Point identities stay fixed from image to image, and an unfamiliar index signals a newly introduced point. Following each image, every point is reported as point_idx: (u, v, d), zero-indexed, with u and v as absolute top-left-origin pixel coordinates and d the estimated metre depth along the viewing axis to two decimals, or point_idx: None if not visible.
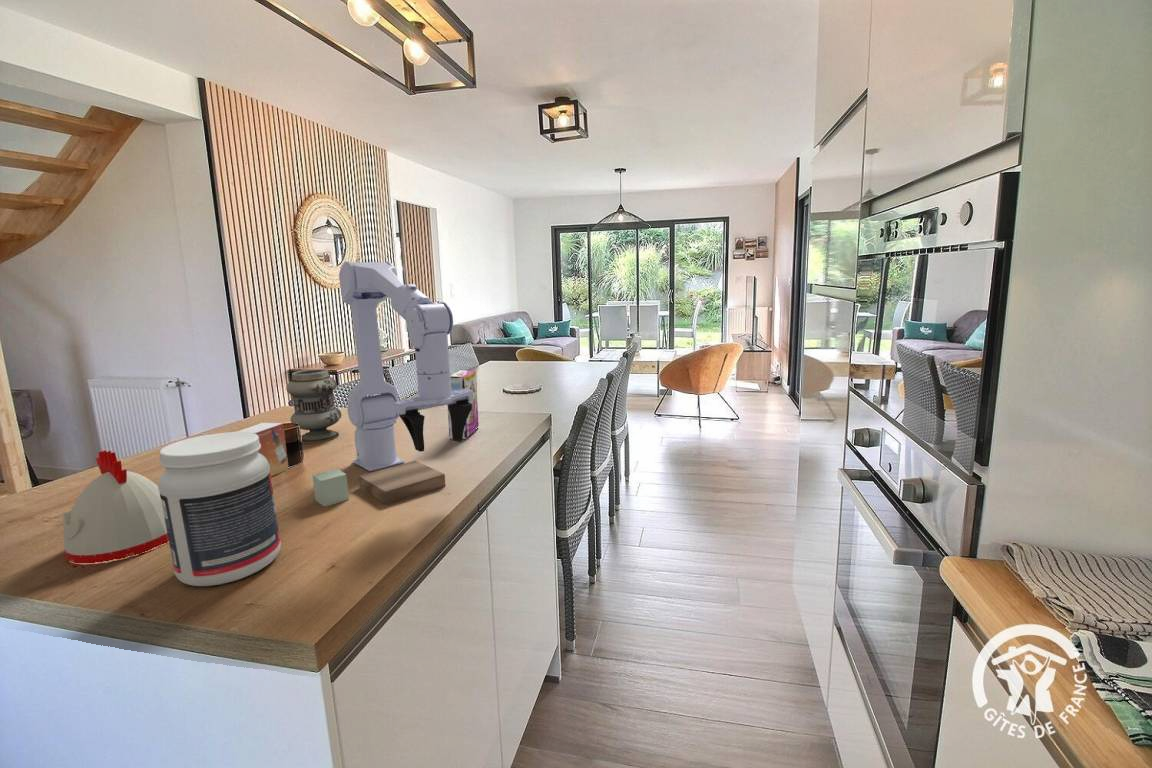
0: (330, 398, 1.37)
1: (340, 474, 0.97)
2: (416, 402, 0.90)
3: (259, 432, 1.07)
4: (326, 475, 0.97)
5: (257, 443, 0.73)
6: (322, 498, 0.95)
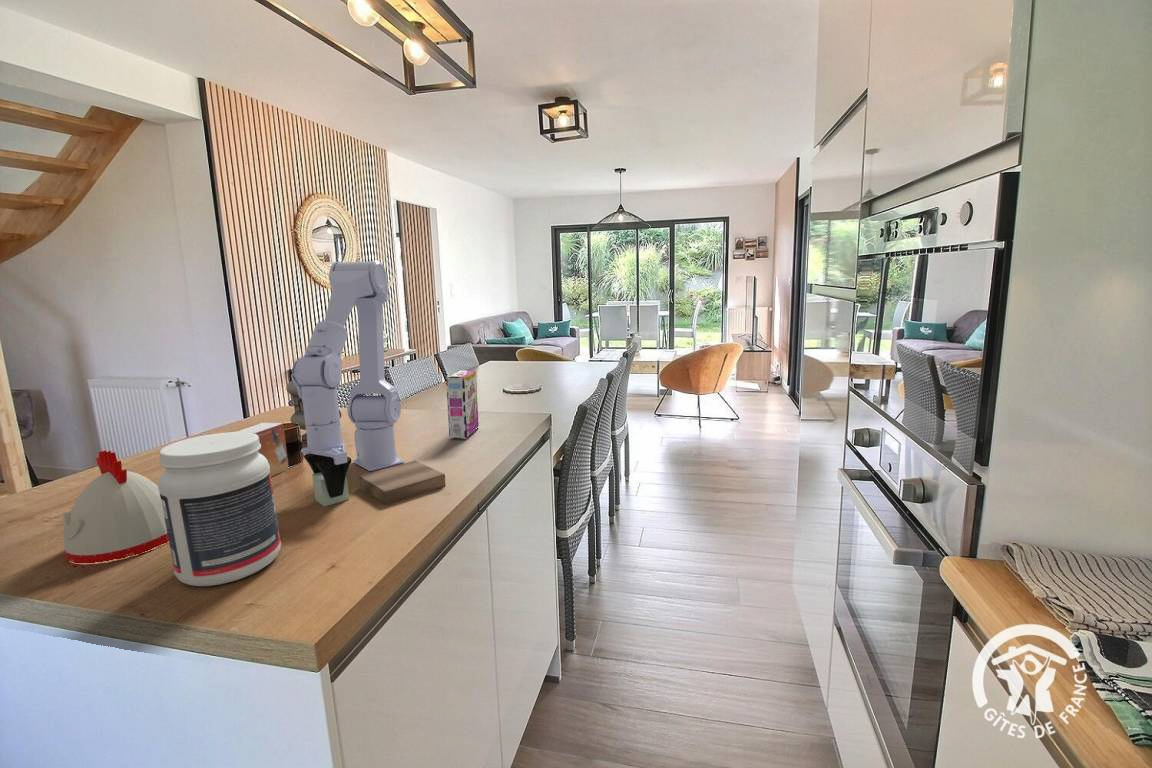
0: None
1: None
2: None
3: (259, 432, 1.07)
4: None
5: (257, 443, 0.73)
6: (322, 497, 0.95)
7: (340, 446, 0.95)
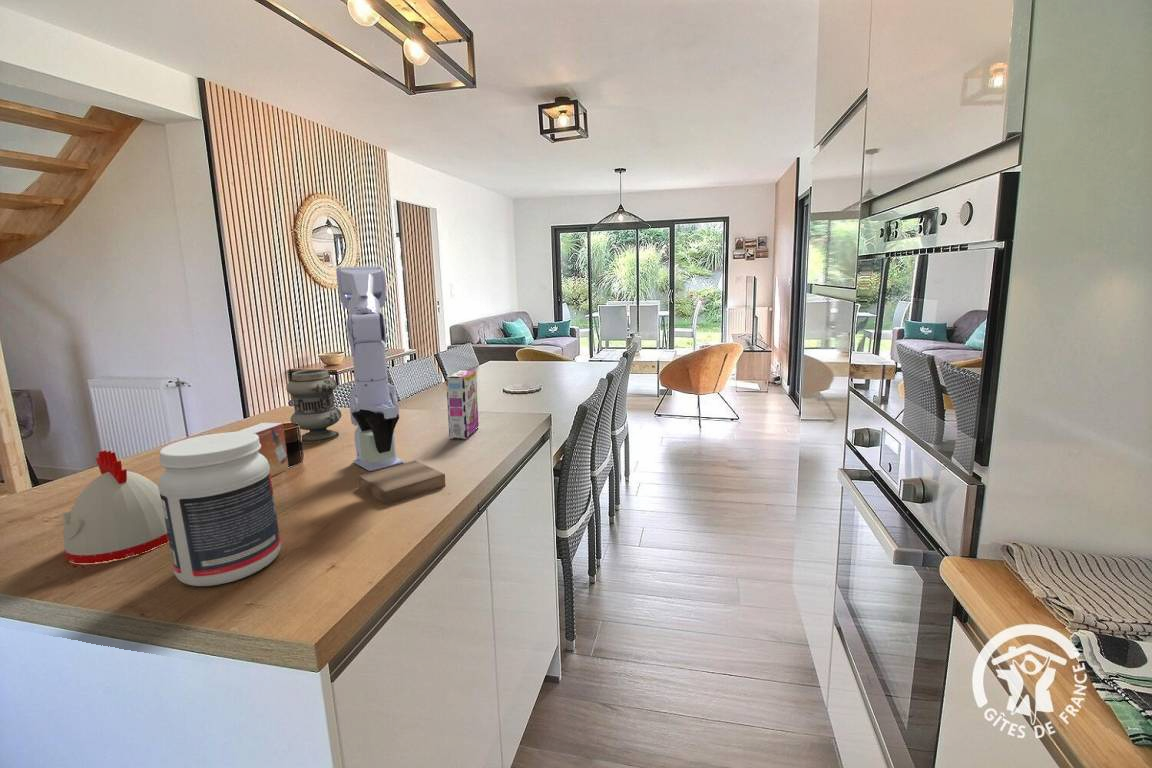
0: (330, 398, 1.37)
1: None
2: (356, 400, 1.01)
3: (259, 432, 1.07)
4: None
5: (257, 443, 0.73)
6: (370, 453, 0.97)
7: (388, 403, 0.98)
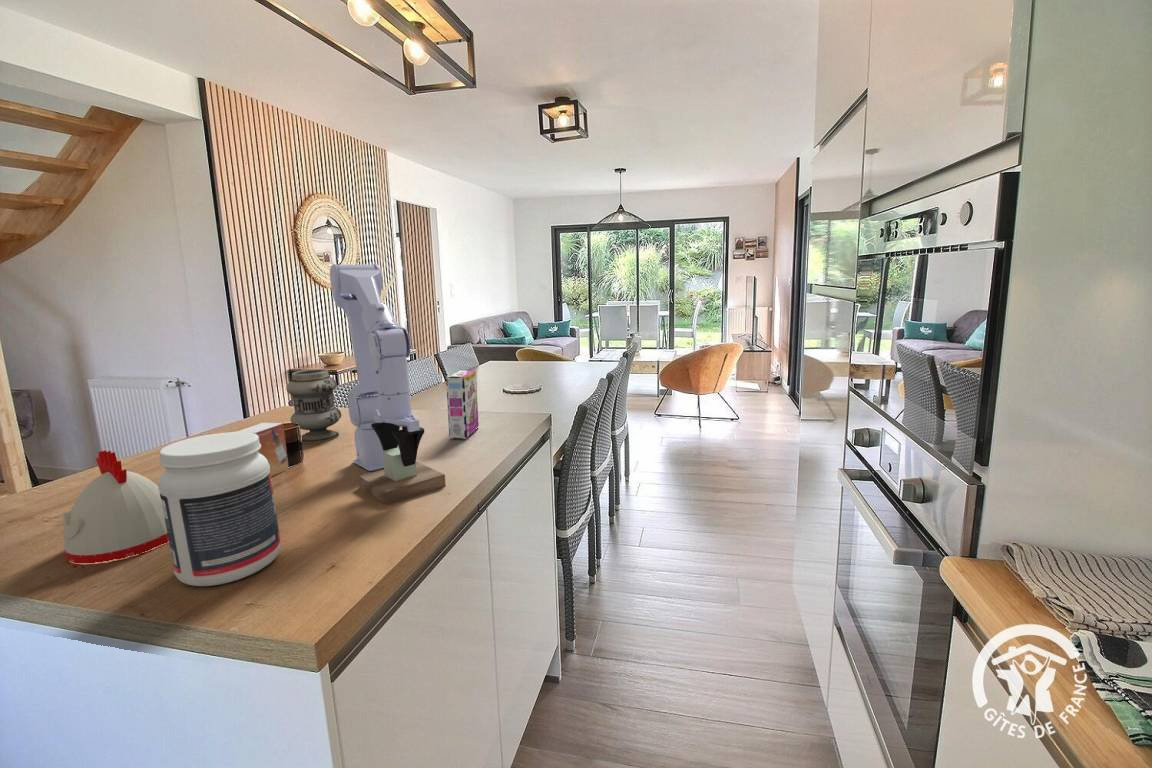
0: (330, 398, 1.37)
1: None
2: (378, 413, 1.03)
3: (259, 432, 1.07)
4: (396, 451, 1.02)
5: (257, 443, 0.73)
6: (393, 472, 0.99)
7: (410, 416, 1.00)
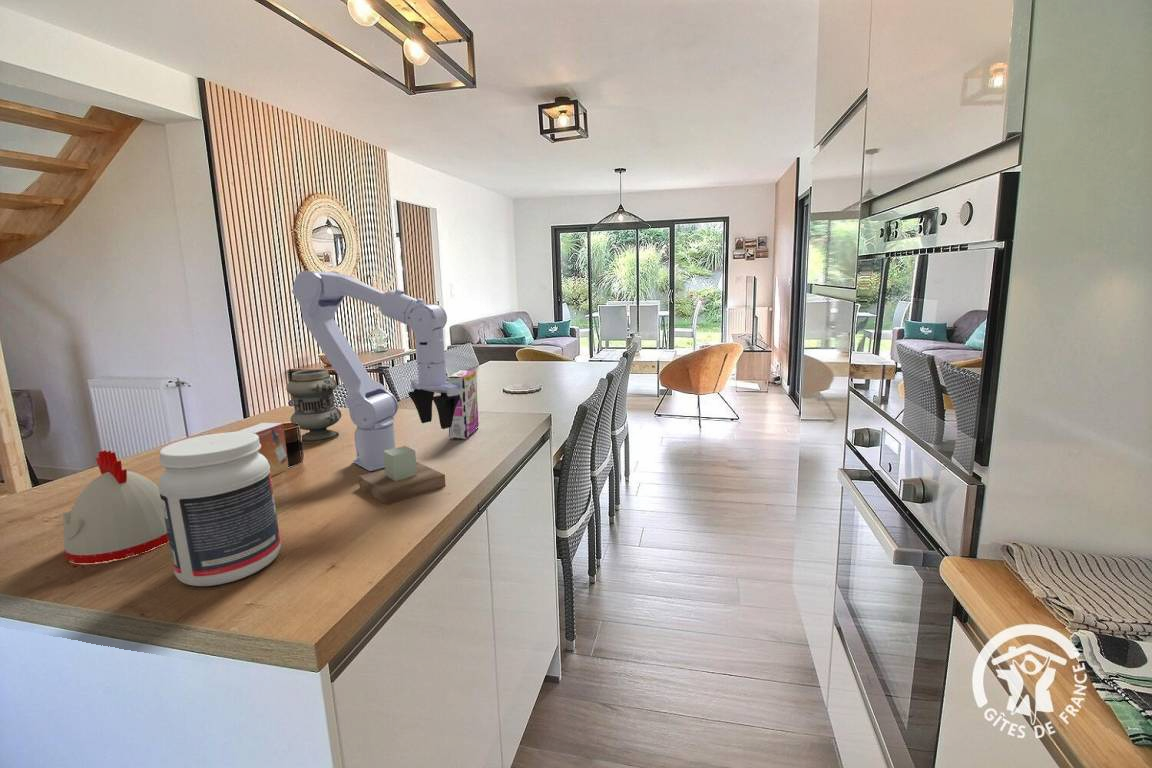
0: (330, 398, 1.37)
1: (409, 450, 1.02)
2: (415, 382, 1.13)
3: (259, 432, 1.07)
4: (396, 451, 1.02)
5: (257, 443, 0.73)
6: (393, 472, 1.00)
7: (446, 383, 1.10)
